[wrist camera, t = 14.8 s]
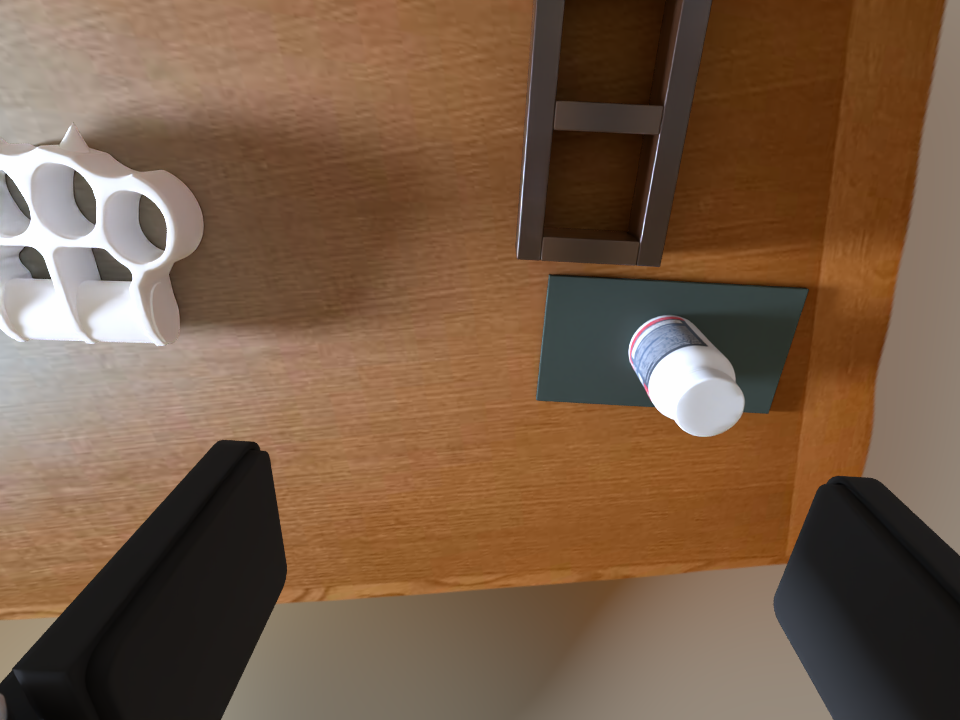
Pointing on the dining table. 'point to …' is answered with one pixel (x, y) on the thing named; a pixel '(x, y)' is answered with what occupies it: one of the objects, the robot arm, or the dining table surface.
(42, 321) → the white brass knuckles
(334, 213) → the dining table surface
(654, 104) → the holder
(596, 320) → the mat
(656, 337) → the pill bottle
